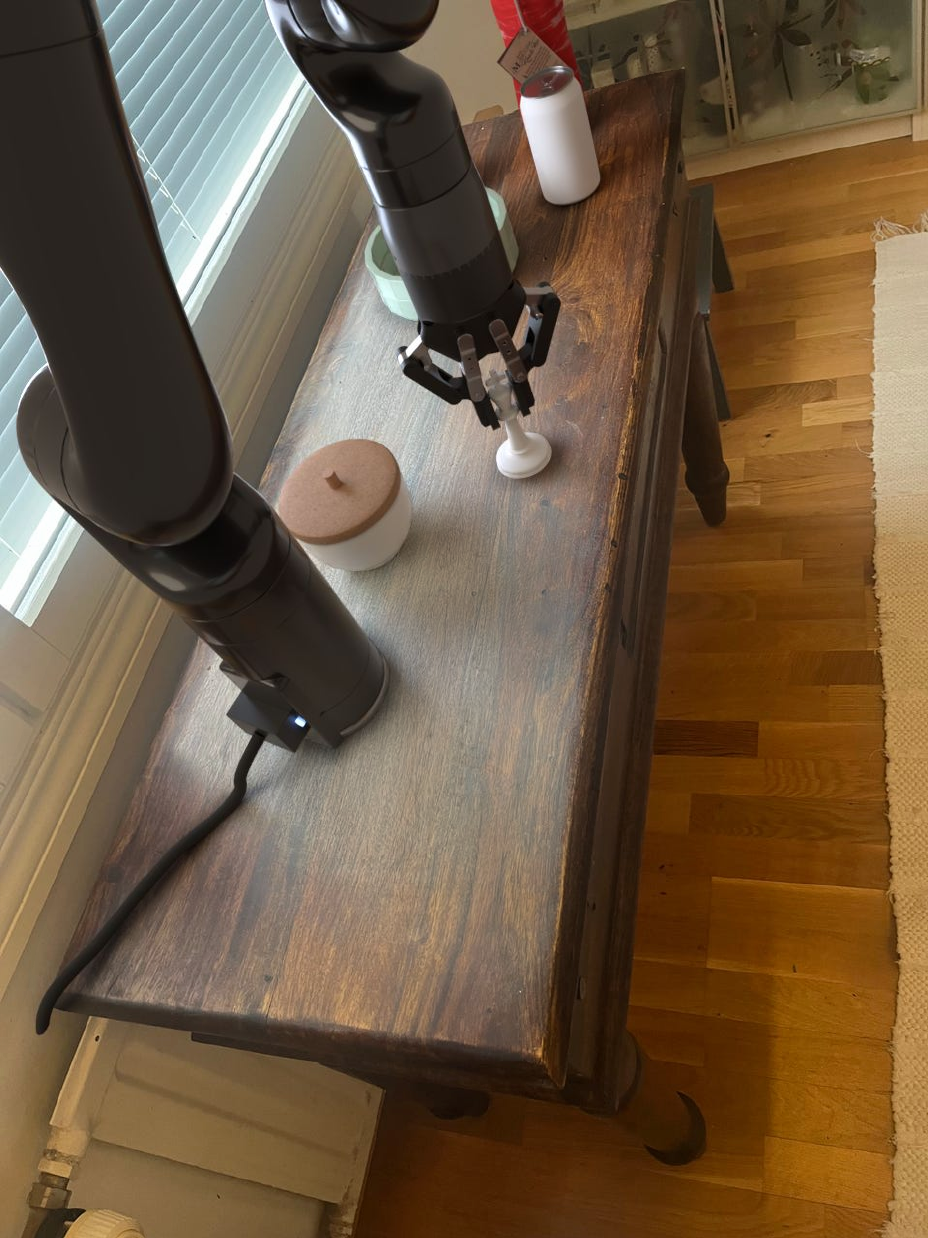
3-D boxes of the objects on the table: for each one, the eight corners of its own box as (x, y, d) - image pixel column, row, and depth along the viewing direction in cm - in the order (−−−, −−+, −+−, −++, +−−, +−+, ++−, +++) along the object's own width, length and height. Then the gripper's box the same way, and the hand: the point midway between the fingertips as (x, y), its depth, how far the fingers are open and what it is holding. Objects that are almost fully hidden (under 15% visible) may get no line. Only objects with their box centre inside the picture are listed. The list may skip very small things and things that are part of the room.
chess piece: (488, 455, 83) (453, 371, 75) (535, 428, 83) (505, 340, 75) (512, 487, 80) (478, 402, 72) (561, 459, 80) (533, 371, 72)
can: (601, 165, 104) (578, 55, 94) (600, 199, 100) (577, 89, 91) (545, 178, 106) (517, 73, 96) (542, 212, 102) (513, 106, 93)
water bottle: (582, 165, 105) (526, -87, 85) (515, 176, 108) (446, -64, 88) (599, 105, 111) (550, -143, 91) (535, 117, 114) (474, -121, 94)
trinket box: (295, 559, 84) (244, 492, 77) (376, 480, 87) (335, 407, 79) (367, 612, 78) (319, 545, 71) (453, 525, 81) (415, 451, 73)
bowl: (479, 329, 94) (462, 285, 90) (359, 318, 102) (338, 276, 98) (543, 230, 100) (530, 184, 96) (425, 226, 108) (409, 183, 104)
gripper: (363, 307, 62) (445, 479, 76) (553, 218, 61) (602, 408, 75) (342, 252, 67) (423, 423, 81) (518, 169, 66) (570, 356, 80)
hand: (509, 415), depth 78 cm, fingers closed on chess piece
